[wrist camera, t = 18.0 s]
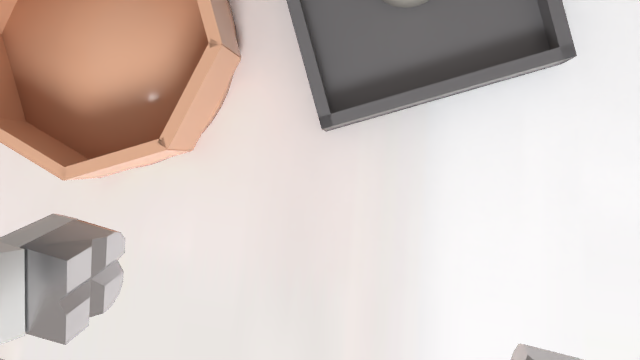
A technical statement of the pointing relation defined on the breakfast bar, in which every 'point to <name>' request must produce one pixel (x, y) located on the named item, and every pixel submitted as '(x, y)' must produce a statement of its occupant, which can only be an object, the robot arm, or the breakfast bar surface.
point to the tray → (420, 50)
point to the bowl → (111, 80)
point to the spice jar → (405, 3)
